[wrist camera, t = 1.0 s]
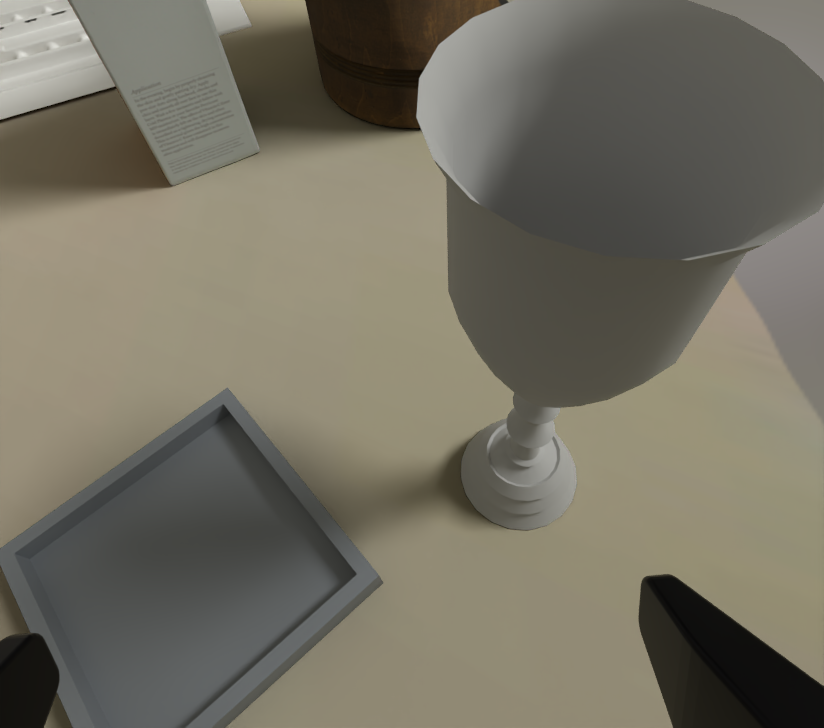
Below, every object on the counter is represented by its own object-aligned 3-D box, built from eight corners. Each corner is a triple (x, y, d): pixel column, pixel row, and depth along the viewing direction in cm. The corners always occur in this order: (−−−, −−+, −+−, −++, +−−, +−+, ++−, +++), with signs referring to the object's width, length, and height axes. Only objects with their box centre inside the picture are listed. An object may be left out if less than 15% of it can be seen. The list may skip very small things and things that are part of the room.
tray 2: (267, 55, 45) (250, 6, 41) (-98, 179, 41) (-146, 135, 38) (211, -52, 55) (194, -99, 52) (-86, 40, 51) (-123, -3, 48)
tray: (383, 582, 23) (379, 575, 22) (135, 809, 20) (112, 816, 18) (238, 402, 28) (227, 387, 27) (18, 560, 24) (-6, 552, 23)
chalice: (415, 430, 26) (359, 44, 11) (546, 378, 27) (662, -43, 12) (484, 584, 23) (543, 329, 7) (632, 518, 24) (958, 169, 8)
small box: (139, 121, 40) (18, -104, 29) (225, 91, 41) (139, -136, 30) (170, 190, 36) (42, -40, 25) (263, 154, 37) (181, -81, 26)
